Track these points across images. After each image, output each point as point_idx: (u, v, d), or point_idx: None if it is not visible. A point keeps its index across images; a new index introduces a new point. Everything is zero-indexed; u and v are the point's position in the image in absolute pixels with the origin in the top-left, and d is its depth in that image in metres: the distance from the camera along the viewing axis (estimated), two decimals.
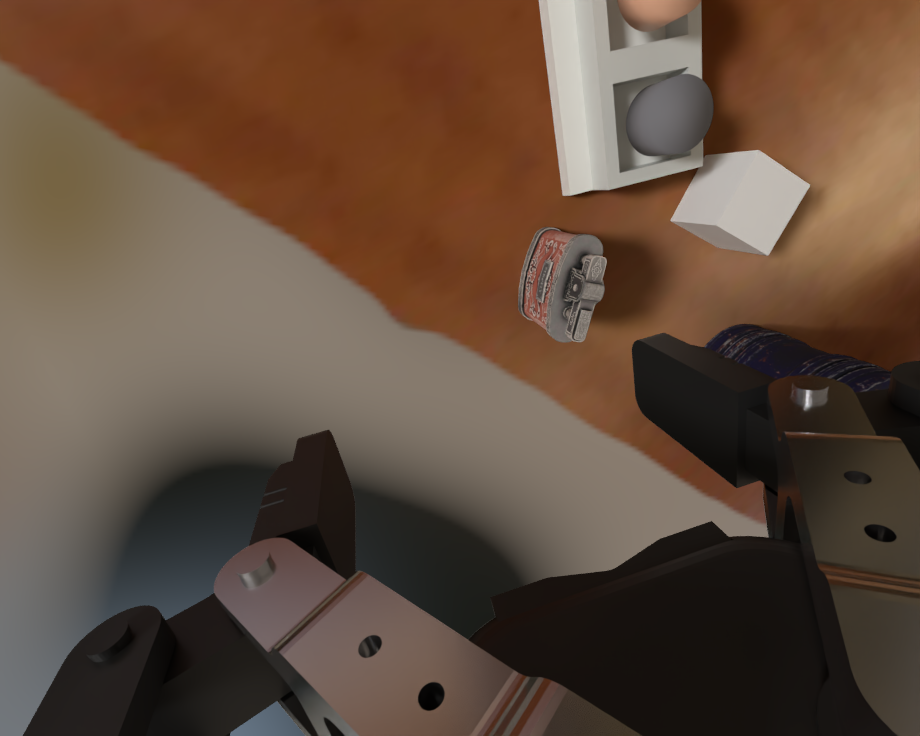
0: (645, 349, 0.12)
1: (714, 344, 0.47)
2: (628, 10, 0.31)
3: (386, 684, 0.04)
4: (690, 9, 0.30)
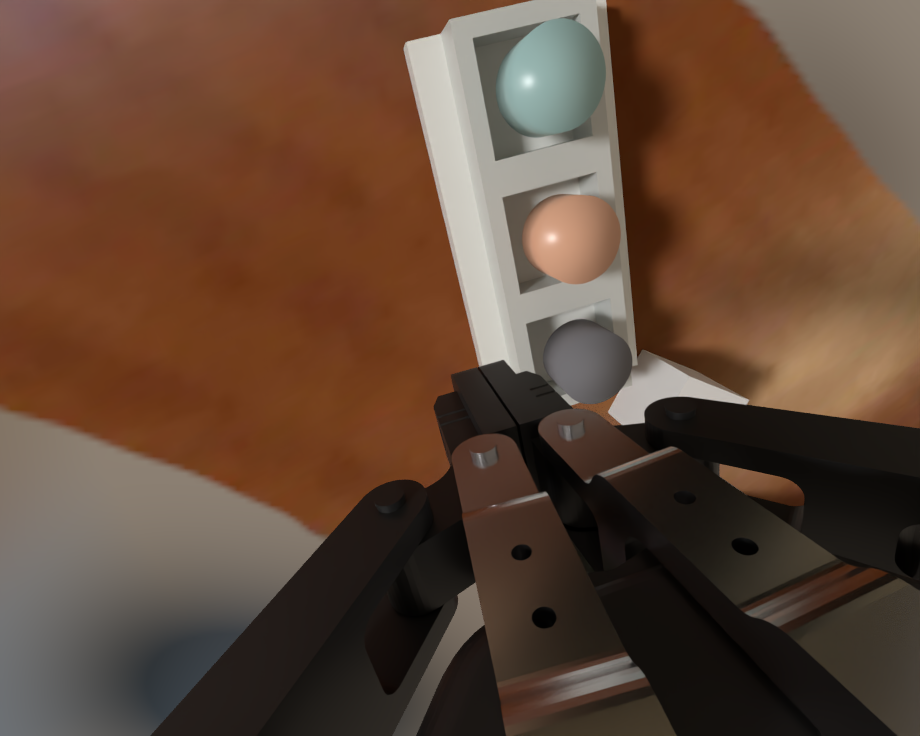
0: (482, 376, 0.12)
1: None
2: (534, 264, 0.28)
3: (517, 586, 0.05)
4: (598, 274, 0.27)
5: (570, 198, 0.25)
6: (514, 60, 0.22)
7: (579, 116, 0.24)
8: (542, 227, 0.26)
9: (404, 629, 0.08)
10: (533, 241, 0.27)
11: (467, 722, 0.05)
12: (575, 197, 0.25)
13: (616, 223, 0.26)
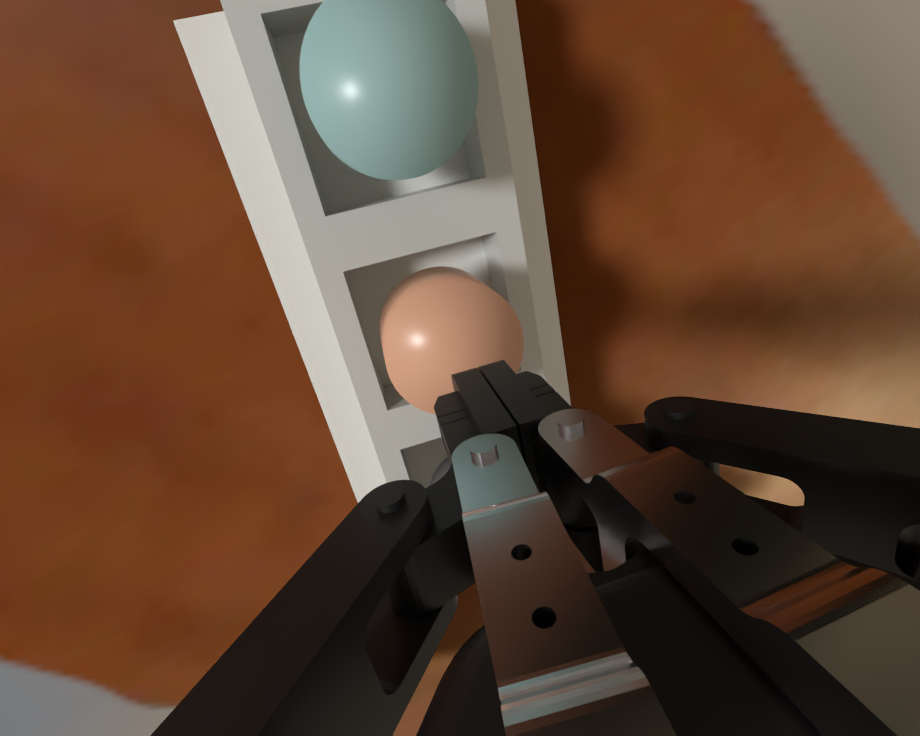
0: (482, 376, 0.12)
1: None
2: None
3: (517, 586, 0.05)
4: None
5: (432, 286, 0.15)
6: (301, 51, 0.12)
7: (435, 152, 0.14)
8: (387, 332, 0.15)
9: (404, 628, 0.08)
10: (383, 349, 0.16)
11: (467, 722, 0.05)
12: (440, 285, 0.15)
13: (515, 323, 0.16)
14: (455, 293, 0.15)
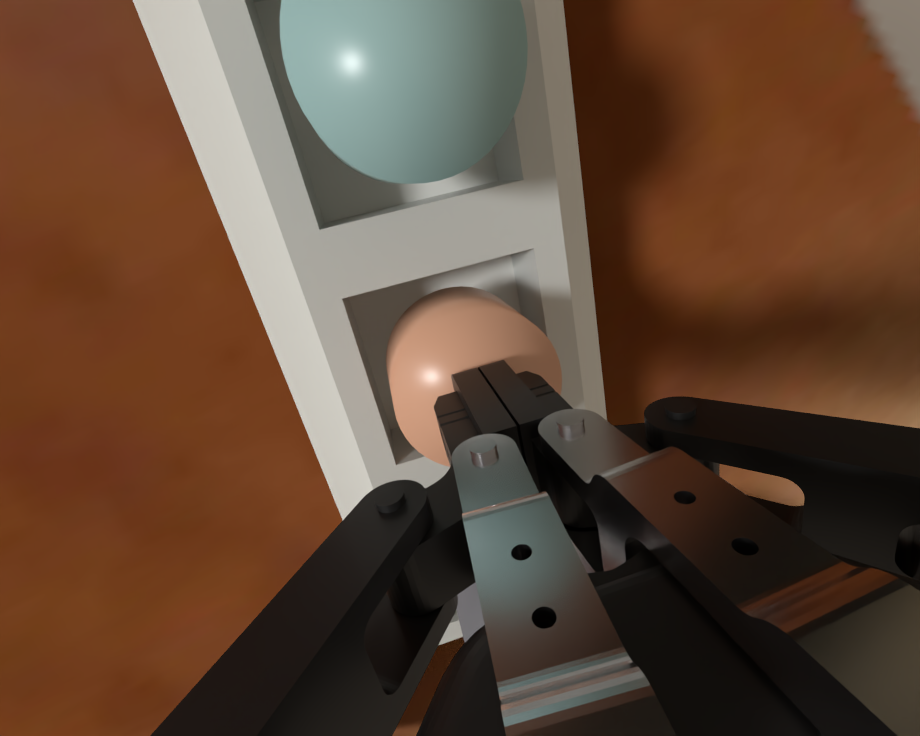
0: (482, 376, 0.12)
1: None
2: None
3: (517, 586, 0.05)
4: None
5: (452, 315, 0.12)
6: (282, 2, 0.09)
7: (467, 146, 0.10)
8: (397, 371, 0.12)
9: (405, 628, 0.08)
10: (390, 389, 0.13)
11: (467, 722, 0.05)
12: (462, 314, 0.12)
13: (552, 359, 0.13)
14: (481, 323, 0.12)
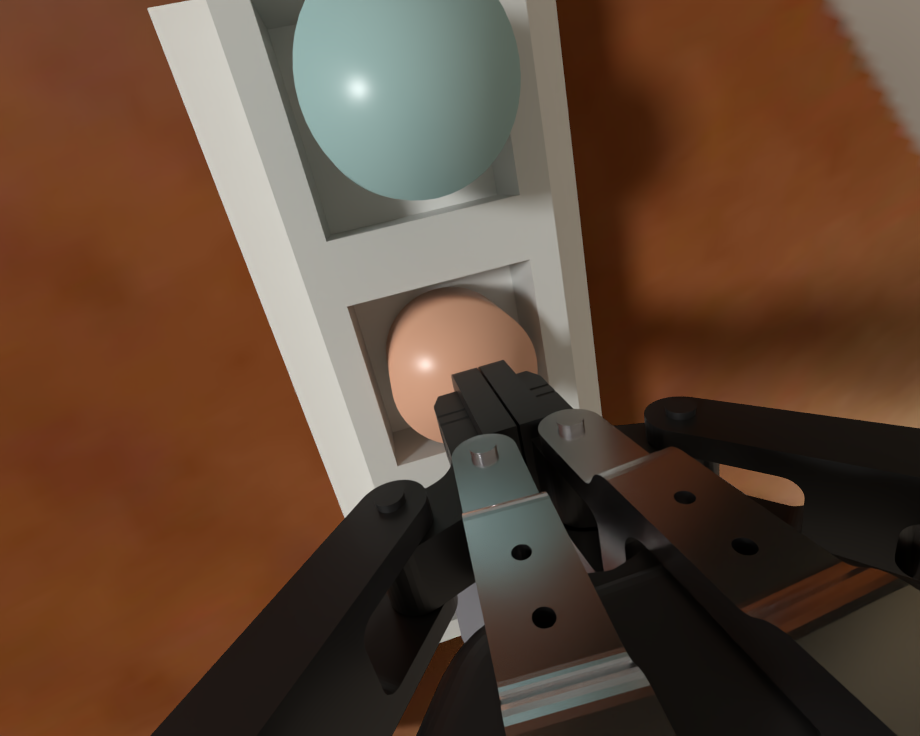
0: (482, 376, 0.12)
1: None
2: None
3: (517, 586, 0.05)
4: None
5: (442, 310, 0.14)
6: None
7: (464, 166, 0.11)
8: (394, 357, 0.15)
9: (404, 629, 0.08)
10: (389, 374, 0.16)
11: (467, 722, 0.05)
12: (450, 309, 0.14)
13: (528, 348, 0.15)
14: (466, 317, 0.14)
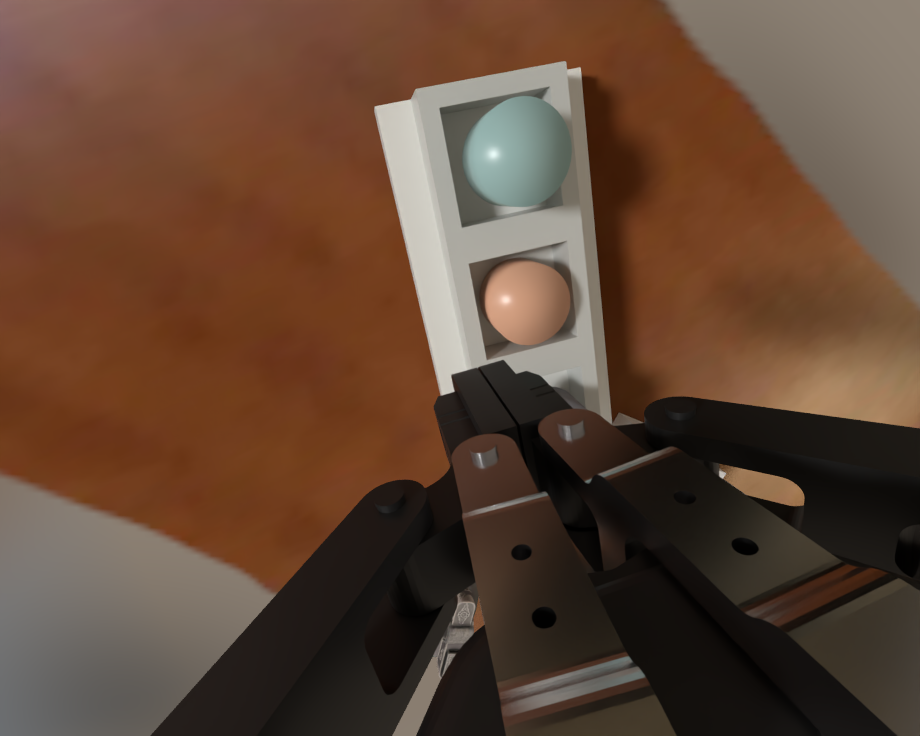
0: (482, 376, 0.12)
1: None
2: (490, 322, 0.30)
3: (517, 586, 0.05)
4: (549, 336, 0.28)
5: (520, 266, 0.27)
6: (476, 135, 0.22)
7: (544, 191, 0.23)
8: (493, 291, 0.27)
9: (405, 628, 0.08)
10: (487, 303, 0.28)
11: (467, 722, 0.05)
12: (525, 265, 0.27)
13: (565, 289, 0.27)
14: (533, 270, 0.27)
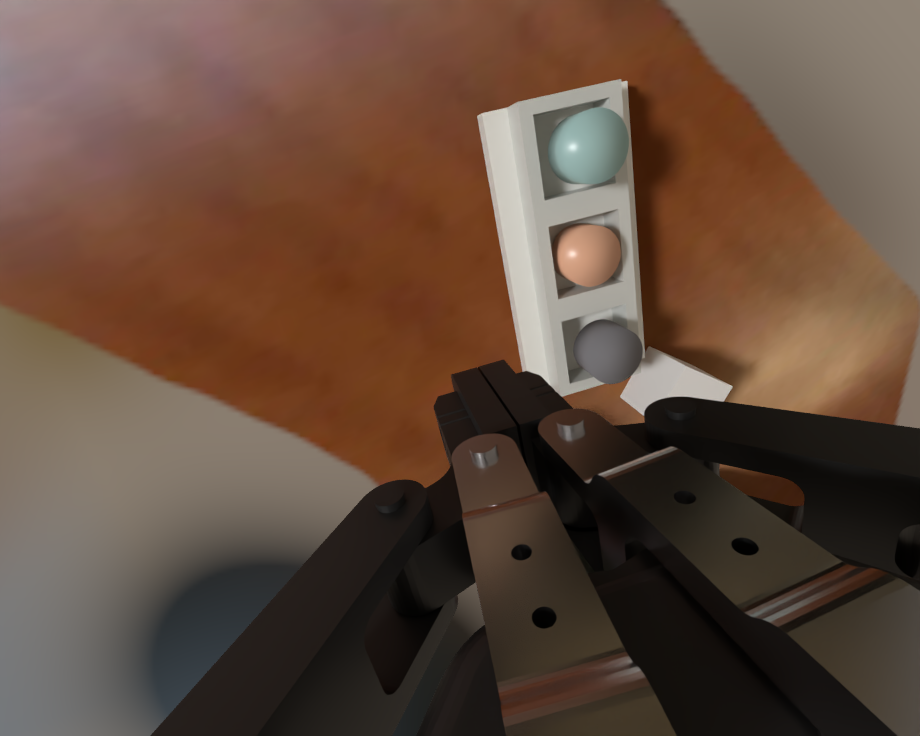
0: (482, 376, 0.12)
1: None
2: (559, 272, 0.40)
3: (517, 586, 0.05)
4: (604, 280, 0.39)
5: (586, 227, 0.37)
6: (565, 135, 0.32)
7: (609, 172, 0.33)
8: (567, 246, 0.37)
9: (404, 629, 0.08)
10: (560, 256, 0.38)
11: (467, 722, 0.05)
12: (590, 227, 0.37)
13: (617, 245, 0.38)
14: (595, 230, 0.37)
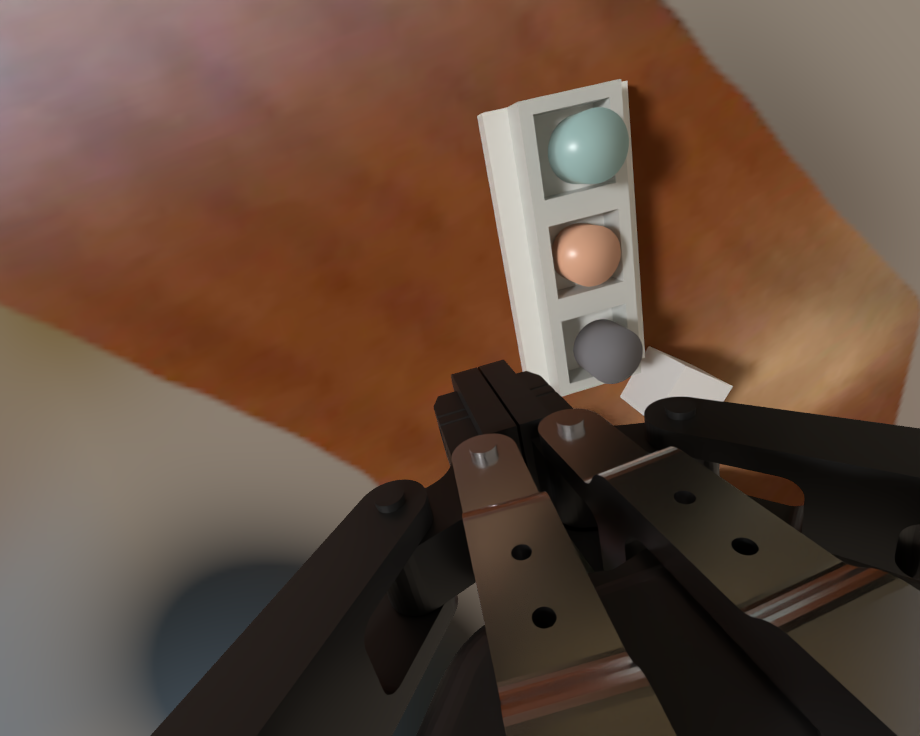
0: (482, 376, 0.12)
1: None
2: (559, 272, 0.40)
3: (517, 586, 0.05)
4: (605, 280, 0.39)
5: (586, 227, 0.37)
6: (565, 134, 0.32)
7: (609, 172, 0.33)
8: (567, 246, 0.37)
9: (404, 628, 0.08)
10: (560, 256, 0.38)
11: (467, 722, 0.05)
12: (590, 226, 0.37)
13: (617, 244, 0.38)
14: (595, 230, 0.37)
